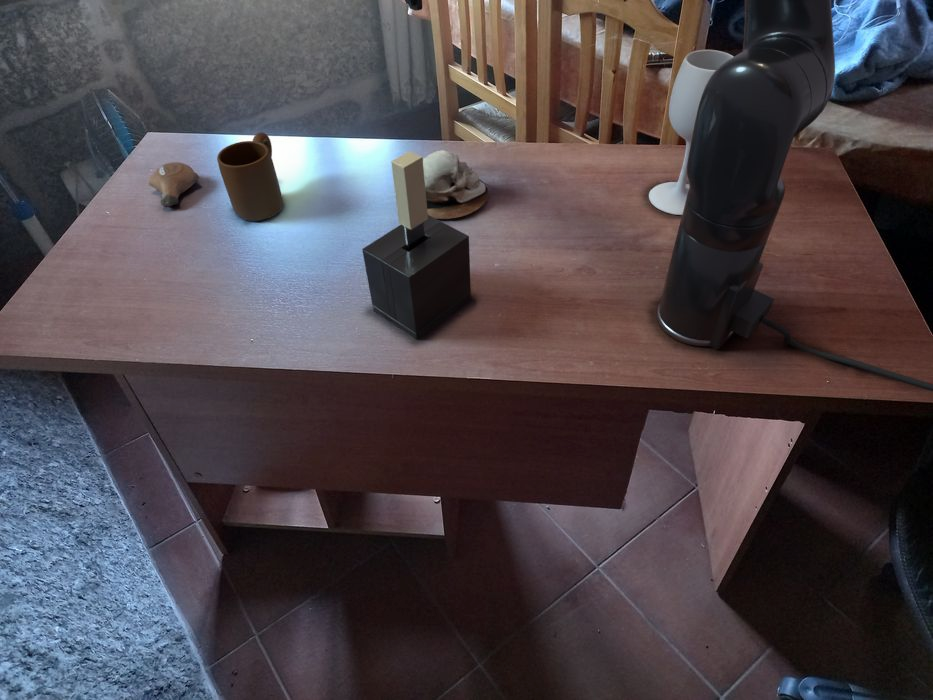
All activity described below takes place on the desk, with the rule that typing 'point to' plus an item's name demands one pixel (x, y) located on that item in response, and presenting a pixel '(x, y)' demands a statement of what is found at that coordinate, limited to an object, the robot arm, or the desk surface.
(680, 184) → the wineglass
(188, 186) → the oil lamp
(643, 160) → the desk surface
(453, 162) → the skull
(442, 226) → the knife block
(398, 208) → the knife
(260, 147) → the mug
